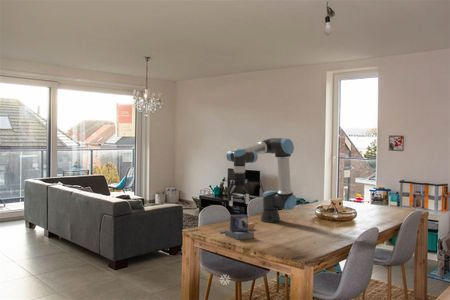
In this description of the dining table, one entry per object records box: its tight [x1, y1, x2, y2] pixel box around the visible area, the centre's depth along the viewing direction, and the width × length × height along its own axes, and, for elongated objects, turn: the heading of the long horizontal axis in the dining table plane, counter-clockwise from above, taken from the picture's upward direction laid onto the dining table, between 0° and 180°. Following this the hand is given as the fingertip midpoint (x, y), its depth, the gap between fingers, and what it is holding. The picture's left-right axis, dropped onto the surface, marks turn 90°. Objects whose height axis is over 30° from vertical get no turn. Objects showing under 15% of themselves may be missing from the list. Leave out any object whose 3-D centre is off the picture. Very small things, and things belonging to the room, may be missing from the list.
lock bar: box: [248, 222, 256, 231], centre depth 272 cm, size 13×3×4 cm, turn 126°
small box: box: [229, 213, 249, 232], centre depth 255 cm, size 11×6×10 cm, turn 106°
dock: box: [219, 229, 255, 241], centre depth 258 cm, size 12×21×3 cm, turn 36°
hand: (239, 204), depth 255 cm, fingers open, 13 cm apart
